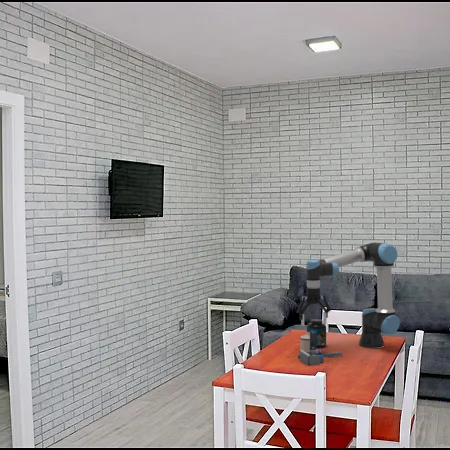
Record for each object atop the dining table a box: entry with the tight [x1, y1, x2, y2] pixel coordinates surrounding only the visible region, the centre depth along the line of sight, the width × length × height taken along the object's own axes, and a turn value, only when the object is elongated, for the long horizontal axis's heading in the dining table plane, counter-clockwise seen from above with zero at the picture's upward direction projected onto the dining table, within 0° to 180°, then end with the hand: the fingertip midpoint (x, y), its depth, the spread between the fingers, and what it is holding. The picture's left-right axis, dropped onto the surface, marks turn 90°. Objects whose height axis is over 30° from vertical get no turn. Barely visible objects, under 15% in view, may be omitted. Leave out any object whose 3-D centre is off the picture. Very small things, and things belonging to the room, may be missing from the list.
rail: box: [296, 351, 343, 360], centre depth 345 cm, size 27×2×2 cm, turn 105°
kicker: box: [307, 331, 325, 364], centre depth 339 cm, size 6×14×14 cm, turn 15°
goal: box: [299, 350, 321, 366], centre depth 333 cm, size 7×11×6 cm, turn 15°
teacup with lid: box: [299, 332, 310, 351], centre depth 358 cm, size 12×9×12 cm
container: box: [306, 318, 327, 349], centre depth 373 cm, size 12×12×17 cm
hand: (313, 324), depth 344 cm, fingers open, 13 cm apart
